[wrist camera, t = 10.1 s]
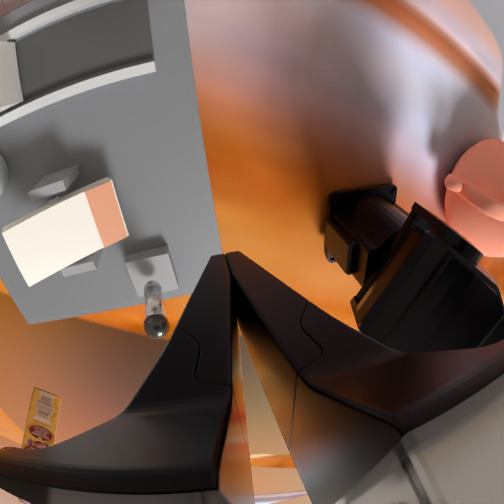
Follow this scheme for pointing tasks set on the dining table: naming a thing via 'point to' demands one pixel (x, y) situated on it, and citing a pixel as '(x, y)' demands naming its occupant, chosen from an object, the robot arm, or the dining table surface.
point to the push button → (3, 175)
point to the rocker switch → (65, 230)
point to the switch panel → (108, 148)
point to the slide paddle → (9, 76)
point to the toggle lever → (155, 311)
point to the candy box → (41, 422)
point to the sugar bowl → (478, 197)
